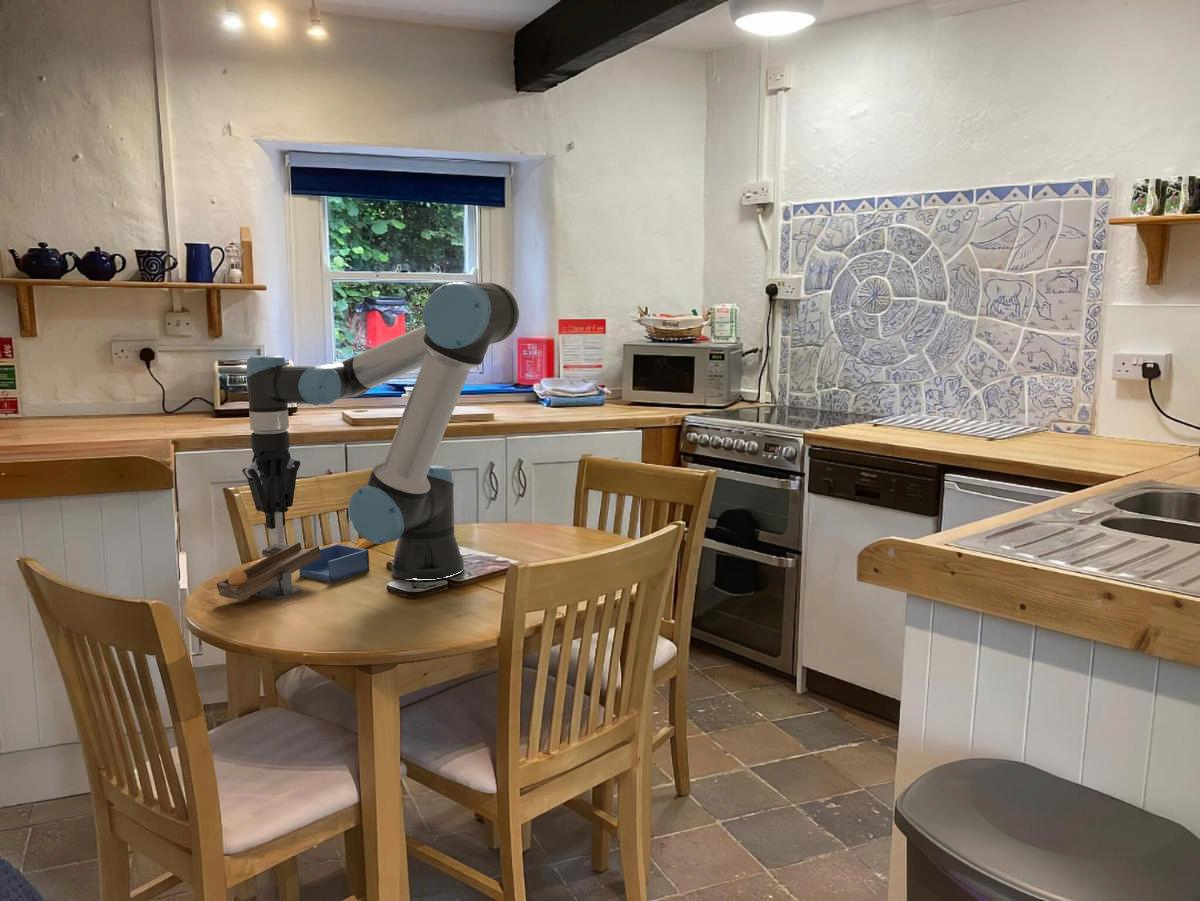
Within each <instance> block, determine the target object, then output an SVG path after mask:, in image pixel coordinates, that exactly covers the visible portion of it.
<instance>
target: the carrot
mask: <svg viewBox="0 0 1200 901" xmlns="http://www.w3.org/2000/svg"><path fill="white" fill-rule="evenodd" d="M376 544H377V543H372V542H370V541H367V540H366V539H364V538H363V539H361V541H360V542H359V543H358V544H357V545H356V546H355V548H361V549H367V548H369V547H371V546H374V545H376Z"/></svg>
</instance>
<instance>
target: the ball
mask: <svg viewBox="0 0 1200 901" xmlns="http://www.w3.org/2000/svg"><path fill="white" fill-rule="evenodd" d="M227 578H228V583H229V584H231V585H235V586H241V585H243V584H245V583H247V580H248V578H247V575H246V573H245V572H243V571H242V570H240V569H238V570H237V569H236V570H233V571H232V572H230V573H229V574H228V577H227Z"/></svg>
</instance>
